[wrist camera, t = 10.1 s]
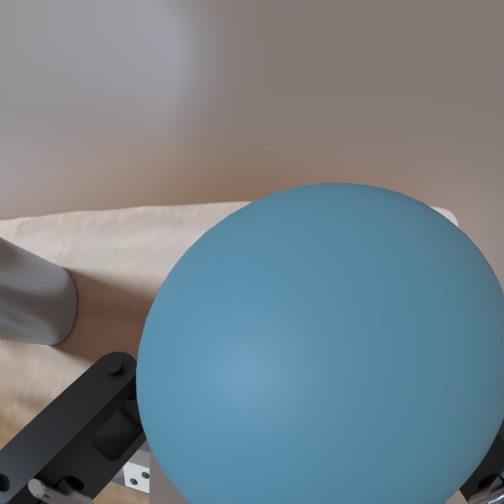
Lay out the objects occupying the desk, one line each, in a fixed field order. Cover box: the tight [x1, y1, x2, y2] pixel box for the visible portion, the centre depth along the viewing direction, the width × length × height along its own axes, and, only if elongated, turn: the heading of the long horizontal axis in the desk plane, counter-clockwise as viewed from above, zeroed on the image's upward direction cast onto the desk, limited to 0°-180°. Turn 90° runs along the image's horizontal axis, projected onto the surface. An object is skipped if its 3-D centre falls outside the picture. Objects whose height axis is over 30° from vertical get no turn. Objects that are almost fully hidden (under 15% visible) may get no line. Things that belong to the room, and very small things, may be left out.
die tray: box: [111, 440, 150, 494], centre depth 18 cm, size 10×8×6 cm
